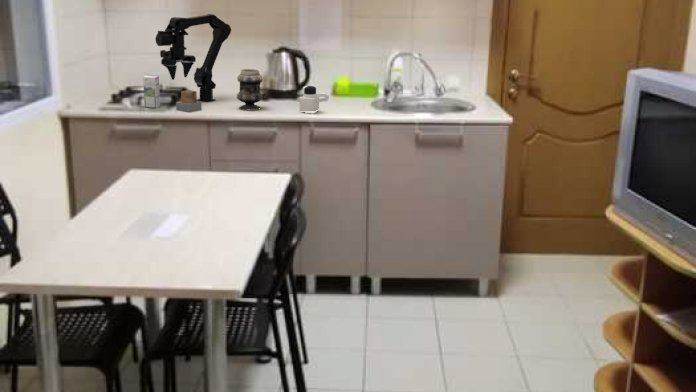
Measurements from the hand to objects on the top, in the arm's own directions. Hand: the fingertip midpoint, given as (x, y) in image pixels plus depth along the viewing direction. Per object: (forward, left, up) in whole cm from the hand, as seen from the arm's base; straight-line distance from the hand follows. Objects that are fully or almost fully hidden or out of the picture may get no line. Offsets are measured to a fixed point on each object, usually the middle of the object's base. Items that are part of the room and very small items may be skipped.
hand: (179, 78), depth 351 cm
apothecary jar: (-10, +33, -12) cm, 37 cm away
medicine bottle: (-19, +60, -12) cm, 64 cm away
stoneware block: (+10, +13, -12) cm, 20 cm away
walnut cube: (+10, +13, -8) cm, 18 cm away
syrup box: (+14, -5, -12) cm, 19 cm away
